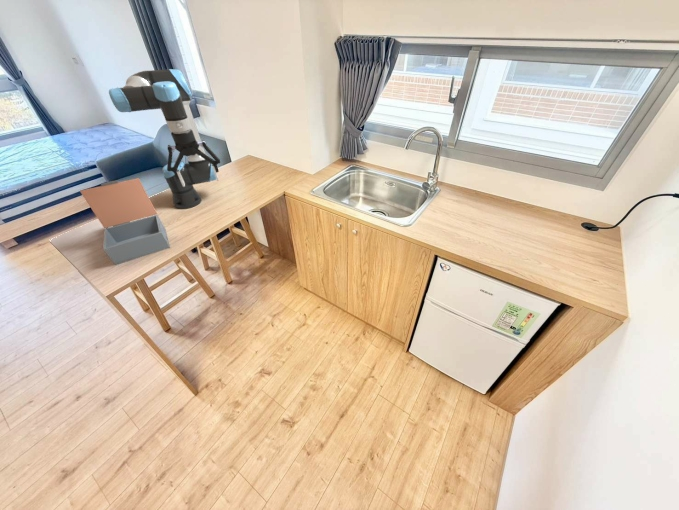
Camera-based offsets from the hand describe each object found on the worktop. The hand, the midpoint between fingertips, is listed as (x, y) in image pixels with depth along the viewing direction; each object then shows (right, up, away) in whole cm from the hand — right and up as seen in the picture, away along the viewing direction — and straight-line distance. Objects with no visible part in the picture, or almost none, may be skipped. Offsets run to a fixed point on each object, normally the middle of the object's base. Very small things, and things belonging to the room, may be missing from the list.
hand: (201, 182), depth 114 cm
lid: (-41, -7, +7) cm, 42 cm away
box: (-35, -27, +13) cm, 46 cm away
